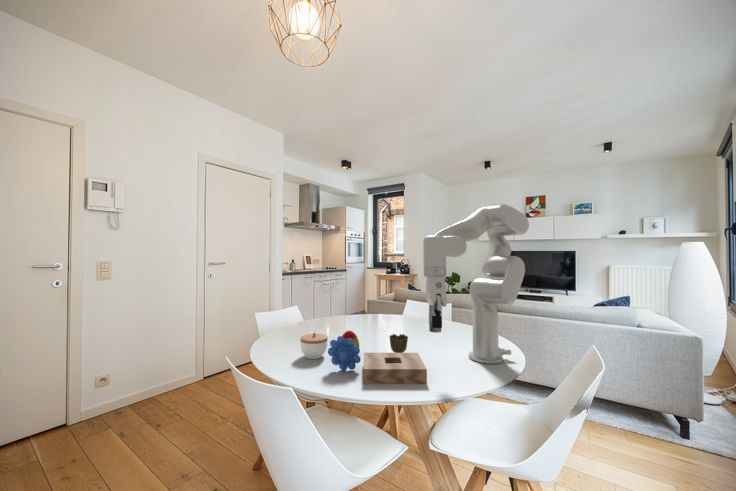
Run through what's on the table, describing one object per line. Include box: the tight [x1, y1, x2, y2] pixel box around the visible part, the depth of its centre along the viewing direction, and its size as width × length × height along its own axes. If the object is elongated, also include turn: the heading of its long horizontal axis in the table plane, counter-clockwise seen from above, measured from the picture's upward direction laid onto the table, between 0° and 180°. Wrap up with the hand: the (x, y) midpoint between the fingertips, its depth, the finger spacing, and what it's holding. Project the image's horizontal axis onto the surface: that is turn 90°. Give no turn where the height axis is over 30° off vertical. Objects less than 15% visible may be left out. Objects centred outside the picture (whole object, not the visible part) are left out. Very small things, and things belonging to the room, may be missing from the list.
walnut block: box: [363, 352, 428, 385], centre depth 103 cm, size 20×16×4 cm
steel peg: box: [428, 306, 442, 334], centre depth 102 cm, size 4×4×8 cm
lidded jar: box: [299, 332, 329, 360], centre depth 120 cm, size 11×11×9 cm
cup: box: [389, 333, 409, 353], centre depth 121 cm, size 8×7×8 cm
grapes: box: [327, 335, 361, 371], centre depth 105 cm, size 12×7×12 cm, turn 90°
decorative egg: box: [342, 330, 360, 348], centre depth 121 cm, size 8×8×10 cm
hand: (435, 325), depth 102 cm, fingers closed on steel peg, 4 cm apart
